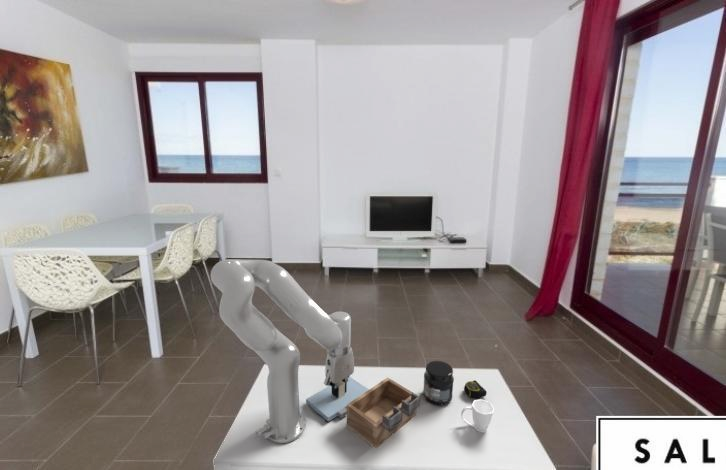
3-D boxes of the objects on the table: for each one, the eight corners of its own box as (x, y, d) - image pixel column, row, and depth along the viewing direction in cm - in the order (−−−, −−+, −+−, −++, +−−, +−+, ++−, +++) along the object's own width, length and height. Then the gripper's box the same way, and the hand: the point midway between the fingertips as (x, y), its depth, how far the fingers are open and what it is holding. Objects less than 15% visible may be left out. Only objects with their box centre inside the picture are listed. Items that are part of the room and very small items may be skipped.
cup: (493, 437, 113) (496, 415, 111) (461, 432, 115) (463, 411, 113) (490, 420, 120) (492, 400, 118) (459, 416, 122) (461, 396, 120)
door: (331, 424, 117) (332, 407, 115) (306, 402, 127) (305, 386, 125) (374, 396, 131) (374, 380, 129) (347, 378, 141) (348, 364, 139)
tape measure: (486, 398, 131) (487, 390, 130) (470, 402, 129) (471, 393, 128) (475, 387, 137) (476, 378, 136) (460, 390, 135) (460, 381, 134)
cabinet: (383, 455, 106) (384, 425, 104) (346, 425, 118) (346, 398, 115) (423, 420, 120) (425, 393, 118) (387, 396, 131) (387, 371, 129)
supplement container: (443, 385, 137) (445, 357, 134) (457, 404, 128) (460, 374, 125) (418, 390, 135) (419, 361, 132) (430, 409, 125) (432, 379, 122)
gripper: (328, 361, 116) (328, 409, 121) (363, 343, 128) (362, 388, 132) (314, 351, 122) (314, 398, 126) (349, 335, 133) (348, 378, 137)
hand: (339, 392), depth 129 cm, fingers closed on door, 3 cm apart
